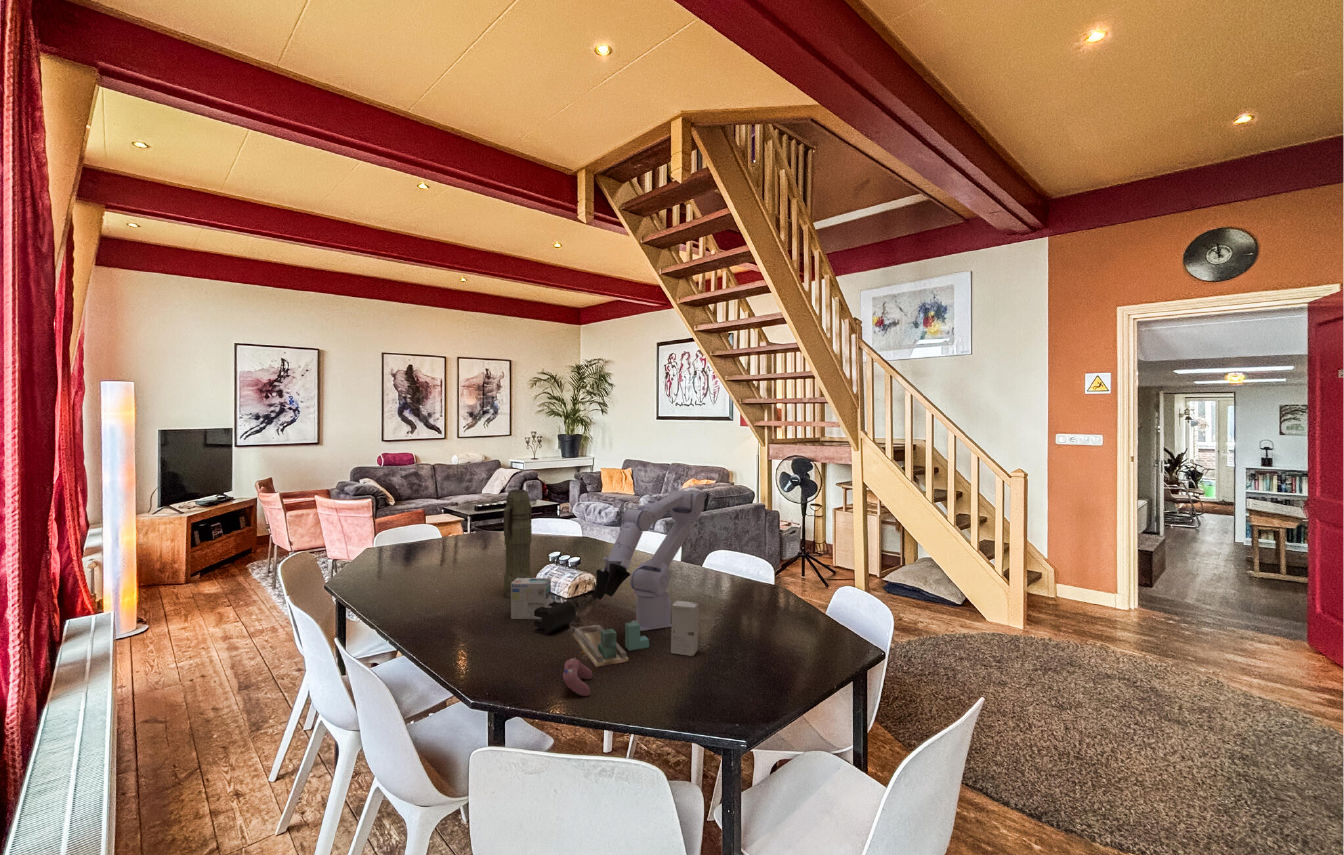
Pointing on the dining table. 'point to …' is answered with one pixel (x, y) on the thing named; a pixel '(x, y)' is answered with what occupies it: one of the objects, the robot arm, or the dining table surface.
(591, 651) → the wooden tray
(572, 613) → the black lumpy piece
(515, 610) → the light bulb box
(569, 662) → the maroon curved piece
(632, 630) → the teal l-shaped block
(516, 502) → the thermos
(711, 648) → the dining table surface
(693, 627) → the skincare box
